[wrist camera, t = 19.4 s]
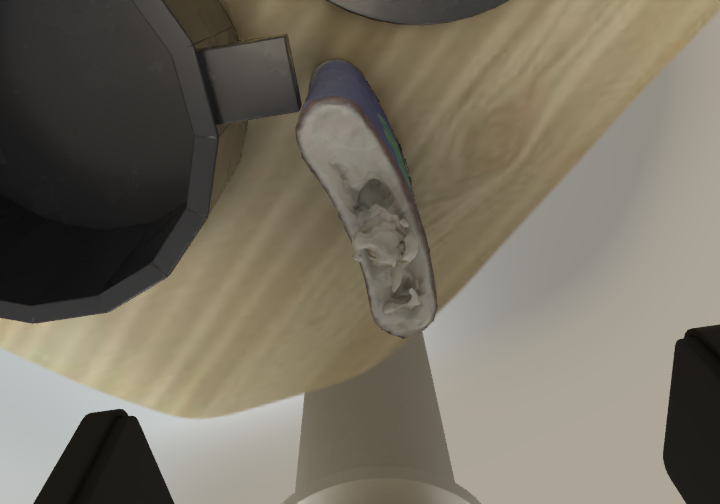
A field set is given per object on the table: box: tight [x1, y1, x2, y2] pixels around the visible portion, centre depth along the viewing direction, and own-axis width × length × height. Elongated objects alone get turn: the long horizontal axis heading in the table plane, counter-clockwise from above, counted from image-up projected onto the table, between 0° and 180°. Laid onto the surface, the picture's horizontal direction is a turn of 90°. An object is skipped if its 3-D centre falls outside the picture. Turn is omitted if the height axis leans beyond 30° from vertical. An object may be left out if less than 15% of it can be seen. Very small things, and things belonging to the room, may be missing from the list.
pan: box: [0, 0, 302, 323], centre depth 22 cm, size 15×20×8 cm
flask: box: [296, 59, 437, 339], centre depth 22 cm, size 9×3×11 cm, turn 21°
